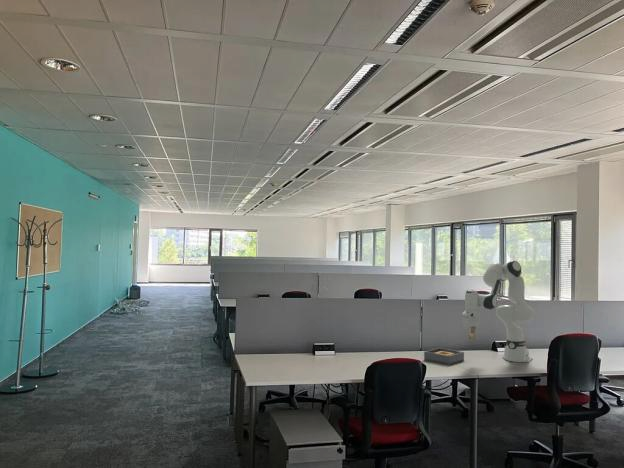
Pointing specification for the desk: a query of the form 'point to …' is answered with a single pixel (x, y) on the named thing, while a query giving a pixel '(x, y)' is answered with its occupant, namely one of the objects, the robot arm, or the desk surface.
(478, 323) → the robot arm
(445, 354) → the walled box
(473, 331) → the peg
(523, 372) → the desk surface
